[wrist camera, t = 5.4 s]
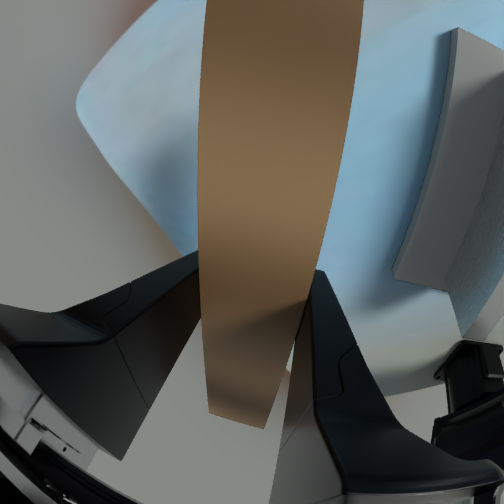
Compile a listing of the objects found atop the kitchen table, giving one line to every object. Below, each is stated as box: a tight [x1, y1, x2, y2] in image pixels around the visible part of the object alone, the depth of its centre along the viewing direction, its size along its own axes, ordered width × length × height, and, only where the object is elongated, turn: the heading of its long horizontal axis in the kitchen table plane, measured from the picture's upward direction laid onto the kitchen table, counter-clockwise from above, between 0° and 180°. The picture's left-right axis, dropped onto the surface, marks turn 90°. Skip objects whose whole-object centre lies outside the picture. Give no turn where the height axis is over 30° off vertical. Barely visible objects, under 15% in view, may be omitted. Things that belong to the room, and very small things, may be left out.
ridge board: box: [392, 27, 504, 292], centre depth 14 cm, size 18×10×1 cm, turn 175°
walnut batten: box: [197, 0, 364, 429], centre depth 9 cm, size 18×3×3 cm, turn 175°
